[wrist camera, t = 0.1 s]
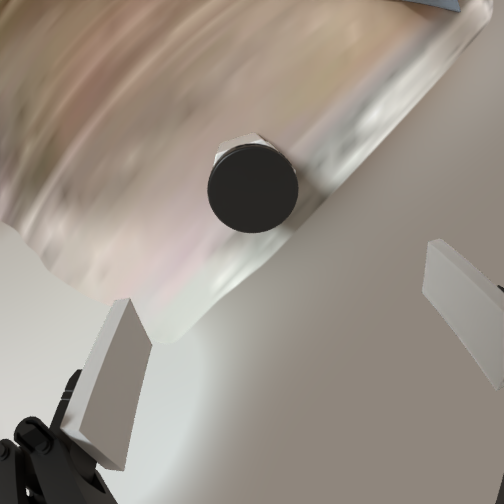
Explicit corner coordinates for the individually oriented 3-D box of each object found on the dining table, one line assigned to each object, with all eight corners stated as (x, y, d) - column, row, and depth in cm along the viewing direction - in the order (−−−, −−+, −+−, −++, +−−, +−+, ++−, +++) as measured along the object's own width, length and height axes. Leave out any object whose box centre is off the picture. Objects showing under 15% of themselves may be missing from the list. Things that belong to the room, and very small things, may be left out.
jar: (295, 166, 38) (320, 191, 27) (251, 211, 40) (259, 252, 29) (242, 118, 35) (247, 122, 24) (198, 167, 37) (184, 193, 26)
